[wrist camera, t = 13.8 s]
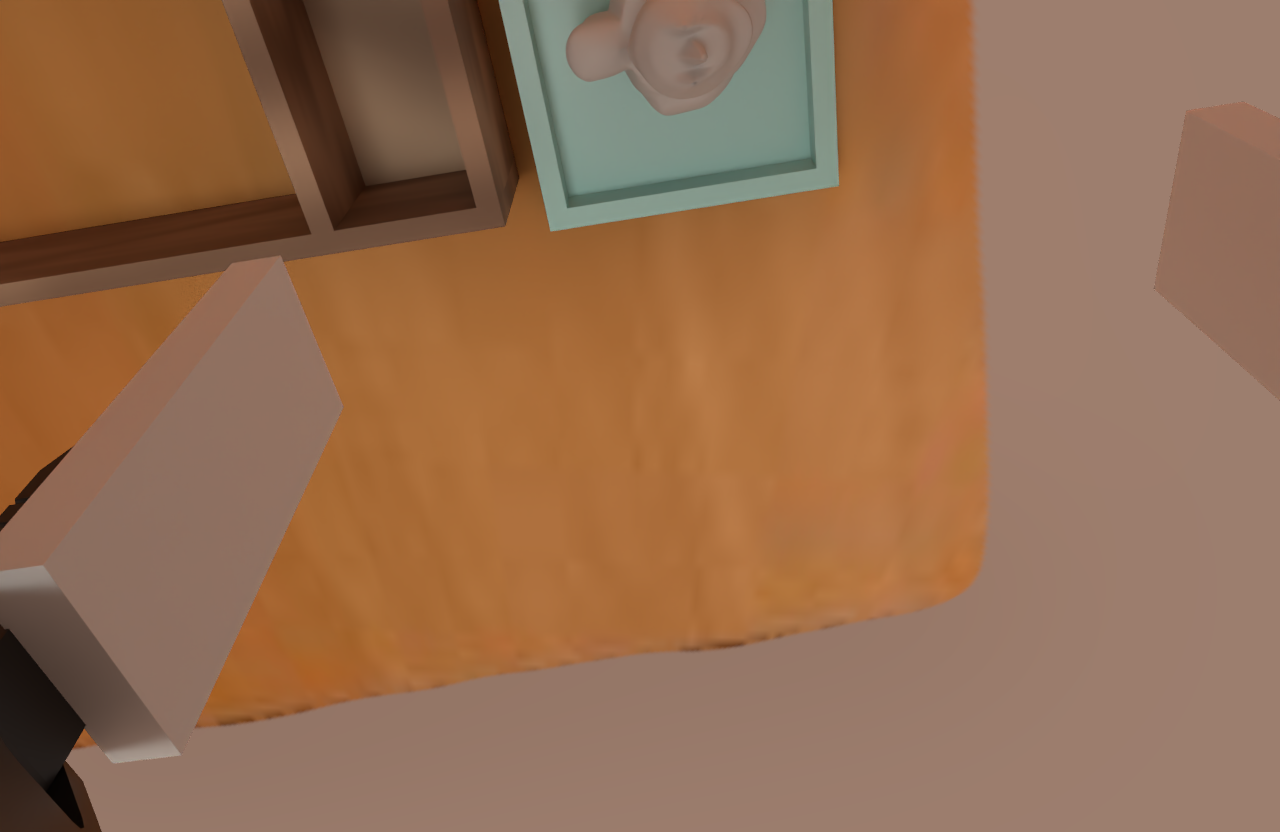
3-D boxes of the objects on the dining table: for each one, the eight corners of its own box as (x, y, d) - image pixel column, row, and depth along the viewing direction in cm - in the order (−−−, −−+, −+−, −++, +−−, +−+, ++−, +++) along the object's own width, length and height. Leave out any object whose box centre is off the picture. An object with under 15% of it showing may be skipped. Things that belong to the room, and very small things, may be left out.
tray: (468, -170, 28) (459, -170, 27) (813, -237, 28) (823, -240, 26) (553, 215, 36) (550, 231, 34) (830, 171, 35) (839, 186, 33)
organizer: (-422, -85, 29) (-594, -70, 25) (416, -253, 27) (379, -267, 23) (-155, 287, 37) (-254, 346, 33) (518, 178, 35) (505, 226, 31)
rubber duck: (767, 72, 32) (805, 136, 26) (590, 114, 33) (583, 189, 26) (743, -96, 29) (778, -73, 23) (549, -46, 30) (529, -8, 23)
